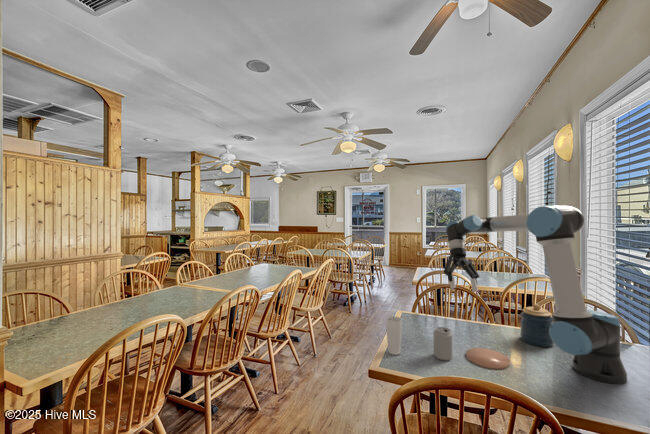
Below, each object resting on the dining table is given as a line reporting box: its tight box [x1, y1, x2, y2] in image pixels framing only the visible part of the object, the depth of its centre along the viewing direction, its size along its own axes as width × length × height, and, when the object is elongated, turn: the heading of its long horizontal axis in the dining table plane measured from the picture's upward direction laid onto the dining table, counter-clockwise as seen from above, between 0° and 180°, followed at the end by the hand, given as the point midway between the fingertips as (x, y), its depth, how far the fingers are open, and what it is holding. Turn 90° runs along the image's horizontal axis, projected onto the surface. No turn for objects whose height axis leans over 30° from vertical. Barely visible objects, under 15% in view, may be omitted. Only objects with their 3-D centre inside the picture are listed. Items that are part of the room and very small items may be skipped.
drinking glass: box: [385, 315, 403, 356], centre depth 129 cm, size 7×7×15 cm
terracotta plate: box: [465, 347, 511, 370], centre depth 122 cm, size 16×16×1 cm
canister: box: [519, 303, 555, 348], centre depth 138 cm, size 13×13×18 cm
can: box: [433, 326, 454, 362], centre depth 124 cm, size 8×8×12 cm
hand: (464, 289), depth 144 cm, fingers open, 13 cm apart
